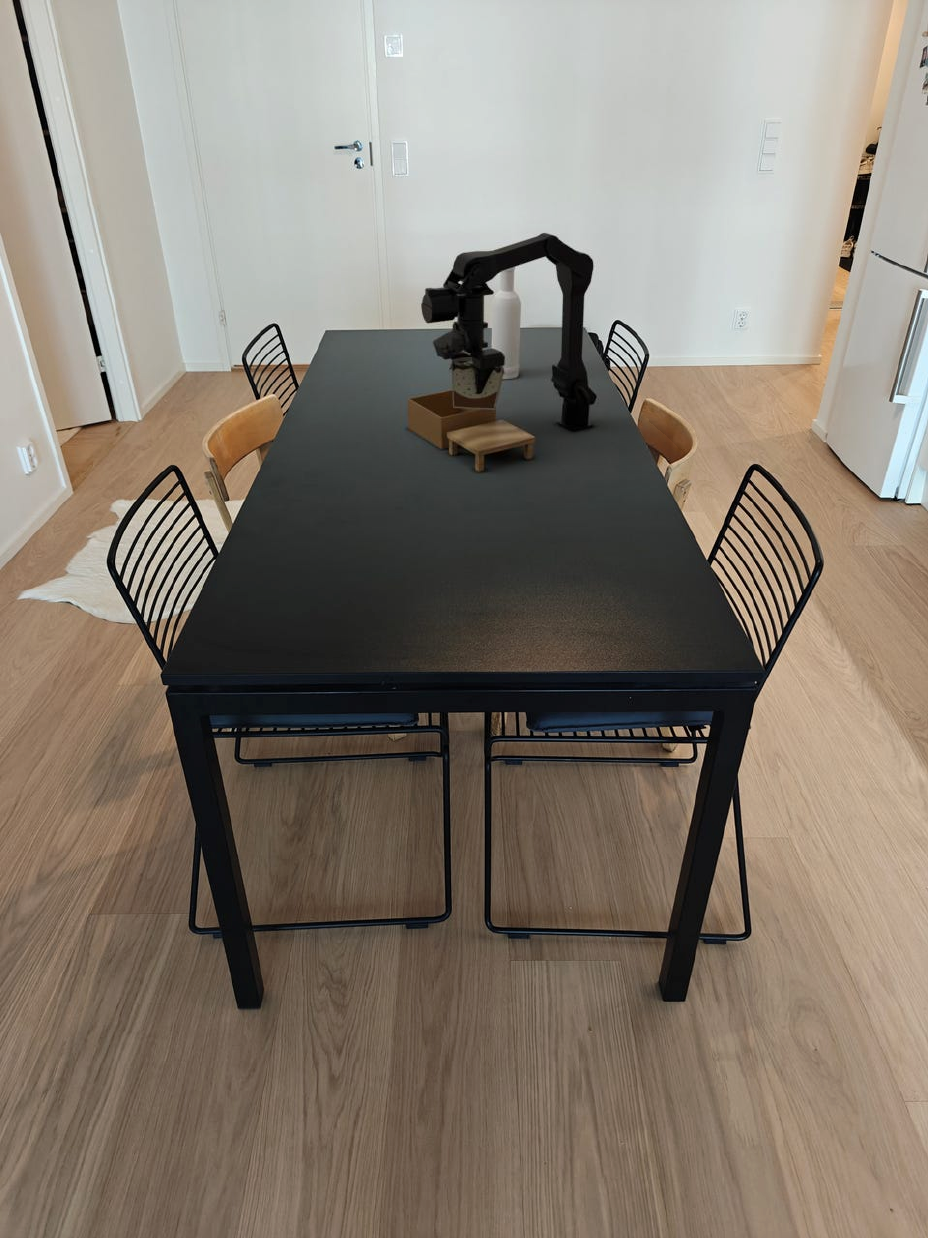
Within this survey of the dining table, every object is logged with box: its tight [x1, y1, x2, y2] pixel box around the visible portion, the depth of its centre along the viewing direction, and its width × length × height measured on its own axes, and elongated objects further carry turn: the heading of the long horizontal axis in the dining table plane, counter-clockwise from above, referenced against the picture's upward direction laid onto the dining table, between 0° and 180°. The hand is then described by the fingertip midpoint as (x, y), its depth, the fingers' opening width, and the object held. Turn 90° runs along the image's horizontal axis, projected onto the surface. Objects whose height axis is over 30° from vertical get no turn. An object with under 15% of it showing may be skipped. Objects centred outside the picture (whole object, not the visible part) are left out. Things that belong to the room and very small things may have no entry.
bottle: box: [491, 267, 522, 380], centre depth 229 cm, size 8×8×30 cm
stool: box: [447, 419, 536, 473], centre depth 187 cm, size 13×15×5 cm
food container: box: [448, 357, 505, 410], centre depth 187 cm, size 12×6×10 cm, turn 94°
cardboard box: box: [406, 389, 497, 450], centre depth 198 cm, size 15×16×7 cm
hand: (471, 389), depth 187 cm, fingers closed on food container, 6 cm apart
